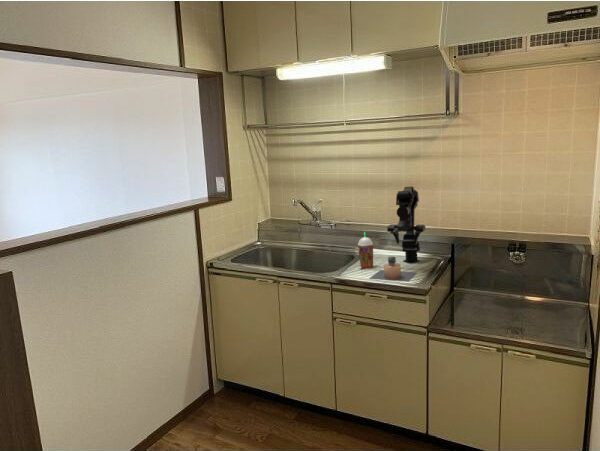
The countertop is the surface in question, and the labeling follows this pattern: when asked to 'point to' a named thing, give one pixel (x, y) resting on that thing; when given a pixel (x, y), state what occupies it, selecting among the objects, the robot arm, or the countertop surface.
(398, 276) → the pump bottle
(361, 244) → the smoothie
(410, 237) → the robot arm
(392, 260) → the pump head
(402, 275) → the drip mat
